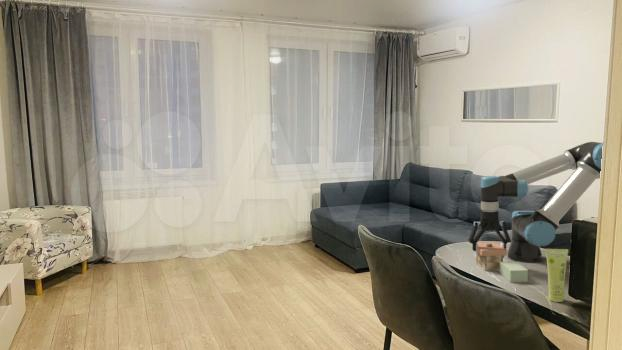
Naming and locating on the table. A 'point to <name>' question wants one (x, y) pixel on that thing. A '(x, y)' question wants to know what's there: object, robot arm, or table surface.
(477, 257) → the robot arm
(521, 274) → the pale green rectangular block
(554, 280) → the tube
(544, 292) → the table surface
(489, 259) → the box
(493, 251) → the lid
